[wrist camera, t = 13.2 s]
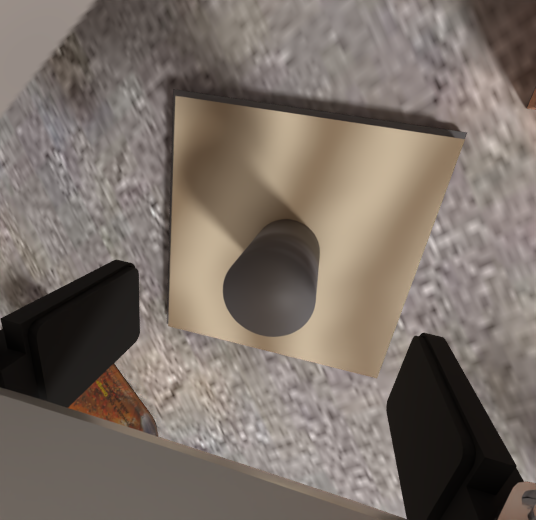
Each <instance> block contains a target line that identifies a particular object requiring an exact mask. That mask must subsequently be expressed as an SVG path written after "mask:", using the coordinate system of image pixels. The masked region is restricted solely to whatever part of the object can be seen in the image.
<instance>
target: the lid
mask: <svg viewBox="0 0 536 520" xmlns="http://www.w3.org/2000/svg"><path fill="white" fill-rule="evenodd" d="M464 140H465V139H459V138H453V137H446V136H440V135H433V134H426V133H420V132H413V131H406V130H400V129H393V128H386V127H380V126H373V125H366V124H360V123H353V122H346V121H340V120H333V119H326V118H320V117H313V116H307V115H300V114H293V113H287V112H280V111H273V110H267V109H260V108H253V107H247V106H240V105H233V104H227V103H220V102H213V101H207V100H200V99H193V98H187V97H180V96H175V125H174V158H173V190H172V223H171V255H170V288H169V320H168V326H170V327H174V328H178V329H182V330H186V331H190V332H194V333H198V334H202V335H206V336H210V337H214V338H218V339H222V340H226V341H230V342H234V343H238V344H242V345H246V346H250V347H254V348H258V349H262V350H266V351H270V352H274V353H278V354H282V355H286V356H290V357H294V358H298V359H302V360H306V361H310V362H314V363H318V364H322V365H326V366H330V367H334V368H338V369H342V370H346V371H350V372H354V373H358V374H362V375H366V376H370V377H374V378H377V377H378V374H379V371H380V369H381V366H382V363H383V360H384V358H385V355H386V352H387V350H388V347H389V344H390V341H391V339H392V336H393V333H394V331H395V328H396V325H397V322H398V320H399V317H400V314H401V312H402V309H403V306H404V303H405V301H406V298H407V295H408V293H409V290H410V287H411V284H412V282H413V279H414V276H415V274H416V271H417V268H418V265H419V263H420V260H421V257H422V255H423V252H424V249H425V246H426V244H427V241H428V238H429V236H430V233H431V230H432V227H433V225H434V222H435V219H436V217H437V214H438V211H439V208H440V206H441V203H442V200H443V198H444V195H445V192H446V189H447V187H448V184H449V181H450V178H451V176H452V173H453V170H454V168H455V165H456V162H457V159H458V157H459V154H460V151H461V149H462V146H463V143H464Z"/></svg>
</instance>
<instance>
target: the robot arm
mask: <svg viewBox="0 0 536 520" xmlns="http://www.w3.org/2000/svg"><path fill="white" fill-rule="evenodd" d="M1 322H2V327H3V329H2V330H0V520H536V483H531V482H524V481H523V479H522V477H521V476H520V474H519V472H518V470H517V468H516V467H517V466H516V464H515V462H514V460H513V459H512V457H511V455H510V453H509V452H508V450H507V448H506V446H505V445H504V443H503V441H502V439H501V437H500V436H499V434H498V432H497V430H496V429H495V427H494V425H493V423H492V421H491V420H490V418H489V416H488V414H487V413H486V411H485V409H484V407H483V406H482V404H481V402H480V400H479V398H478V397H477V395H476V393H475V391H474V390H473V388H472V386H471V384H470V382H469V381H468V379H467V377H466V375H465V374H464V372H463V370H462V368H461V367H460V365H459V363H458V361H457V359H456V358H455V356H454V354H453V352H452V351H451V349H450V347H449V345H448V343H447V342H446V340H445V339H444V338H443V337H439V336H435V335H431V334H427V333H422V334H421V335H420V336H414V337H413V339H412V341H411V344H410V346H409V349H408V351H407V354H406V356H405V359H404V361H403V364H402V366H401V368H400V371H399V373H398V376H397V378H396V381H395V383H394V386H393V388H392V391H391V393H390V396H389V398H388V401H387V416H388V422H389V427H390V432H391V437H392V443H393V448H394V453H395V459H396V464H397V469H398V474H399V480H400V485H401V490H402V496H403V501H404V506H405V511H406V517H407V519H404V518H402V517H399V516H396V515H393V514H390V513H387V512H384V511H381V510H379V509H376V508H373V507H370V506H367V505H364V504H361V503H359V502H356V501H353V500H350V499H347V498H344V497H341V496H338V495H335V494H332V493H329V492H326V491H323V490H320V489H316V488H313V487H310V486H307V485H304V484H301V483H298V482H295V481H292V480H289V479H286V478H283V477H280V476H277V475H274V474H271V473H268V472H265V471H262V470H259V469H256V468H253V467H250V466H247V465H244V464H241V463H238V462H235V461H231V460H228V459H225V458H222V457H219V456H216V455H213V454H210V453H207V452H204V451H201V450H198V449H194V448H191V447H188V446H185V445H182V444H179V443H176V442H173V441H170V440H167V439H163V438H160V437H157V436H154V435H151V434H148V433H145V432H142V431H139V430H136V429H132V428H129V427H126V426H123V425H120V424H117V423H114V422H110V421H107V420H104V419H101V418H98V417H95V416H92V415H88V414H85V413H82V412H79V411H76V410H73V409H69V408H68V407H69V406H70V405H71V404H72V403H73V402H75V401H76V400H77V399H78V398H79V397H80V396H81V395H82V394H83V393H84V392H85V391H86V390H87V389H88V388H89V387H90V386H91V385H92V384H93V383H94V382H95V381H96V380H97V379H98V378H99V377H100V376H101V375H102V374H103V373H104V372H105V371H106V370H107V369H108V368H109V367H110V366H111V365H113V364H114V363H115V362H116V361H117V360H118V359H119V358H120V357H121V356H122V355H123V354H124V353H125V352H126V351H127V350H128V349H129V348H130V347H131V346H132V345H133V344H134V343H135V342H136V341H137V339H138V337H139V334H140V319H139V273H138V270H137V269H136V268H135V266H134V264H132V263H128V262H124V261H120V260H114V261H112V262H110V263H108V264H106V265H104V266H102V267H100V268H98V269H96V270H94V271H92V272H91V273H89V274H87V275H85V276H83V277H81V278H79V279H77V280H75V281H73V282H71V283H69V284H67V285H65V286H63V287H61V288H59V289H57V290H55V291H53V292H51V293H50V294H48V295H46V296H44V297H42V298H40V299H38V300H36V301H34V302H32V303H30V304H28V305H26V306H24V307H22V308H20V309H18V310H16V311H14V312H12V313H11V314H9V315H7V316H5V317H3V318H1Z"/></svg>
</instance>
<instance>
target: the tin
mask: <svg viewBox="0 0 536 520" xmlns="http://www.w3.org/2000/svg"><path fill="white" fill-rule="evenodd" d="M68 408H69V409H73V410H76V411H79V412H82V413H85V414H88V415H92V416H95V417H98V418H101V419H104V420H107V421H110V422H114V423H117V424H120V425H123V426H126V427H129V428H132V429H136V430H139V431H142V432H145V433H148V434H151V435H154V436H157V437H158V432H157V427H156V424H155V421H154V419H153V417H152V415H151V414H150V412H149V411H148V410H147V408H146V407H145V406H144V404H143V403H142V402H141V400H140V399H139V398H138V396H137V395H136V394H135V392H134V391H133V390H132V388H131V387H130V386H129V384H128V383H127V382H126V380H125V379H124V377H123V376H122V375H121V373H120V372H119V370H118V369H117V368H116V366H115V365H114V364H113V365H111V366H110V367H109V368H108V369H107V370H106V371H105V372H104V373H103V374H102V375H101V376H100V377H99V378H98V379H97V380H96V381H95V382H94V383H93V384H92V385H91V386H90V387H89V388H88V389H87V390H86V391H85V392H84V393H83V394H82V395H81V396H80V397H79V398H78V399H77V400H76V401H75V402H73V403H72V404H71V405H70V406H69V407H68Z"/></svg>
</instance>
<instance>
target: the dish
mask: <svg viewBox="0 0 536 520" xmlns="http://www.w3.org/2000/svg"><path fill="white" fill-rule="evenodd" d="M527 109H533V110H536V88H535V90H534V93H533V95H532V98H531V100H530V102H529V105H528V107H527Z"/></svg>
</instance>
